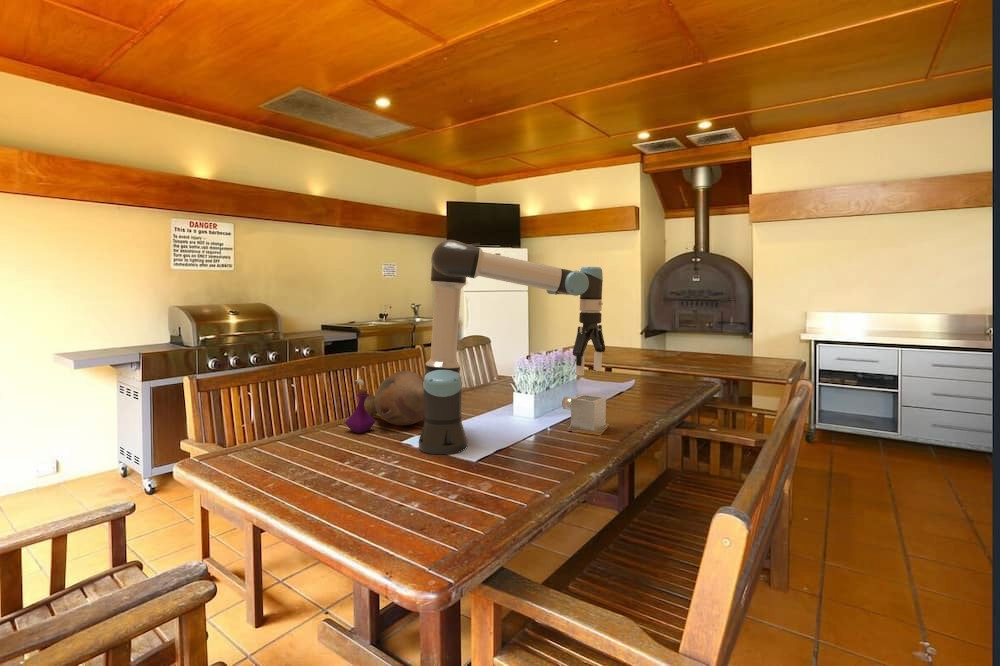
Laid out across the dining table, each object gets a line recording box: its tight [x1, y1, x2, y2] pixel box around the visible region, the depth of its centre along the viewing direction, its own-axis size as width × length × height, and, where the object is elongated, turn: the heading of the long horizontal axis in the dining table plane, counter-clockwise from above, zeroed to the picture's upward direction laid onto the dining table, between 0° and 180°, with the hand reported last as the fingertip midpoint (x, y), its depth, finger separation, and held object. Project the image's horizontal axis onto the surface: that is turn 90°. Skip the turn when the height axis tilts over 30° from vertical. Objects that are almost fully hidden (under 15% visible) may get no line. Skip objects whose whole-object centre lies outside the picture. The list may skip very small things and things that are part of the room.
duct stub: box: [566, 423, 610, 433], centre depth 181 cm, size 12×12×9 cm
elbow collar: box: [561, 394, 607, 431], centre depth 182 cm, size 14×9×10 cm, turn 54°
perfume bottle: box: [344, 378, 376, 434], centre depth 177 cm, size 8×8×18 cm
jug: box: [364, 370, 424, 426], centre depth 189 cm, size 20×20×30 cm
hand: (588, 372), depth 179 cm, fingers open, 13 cm apart
